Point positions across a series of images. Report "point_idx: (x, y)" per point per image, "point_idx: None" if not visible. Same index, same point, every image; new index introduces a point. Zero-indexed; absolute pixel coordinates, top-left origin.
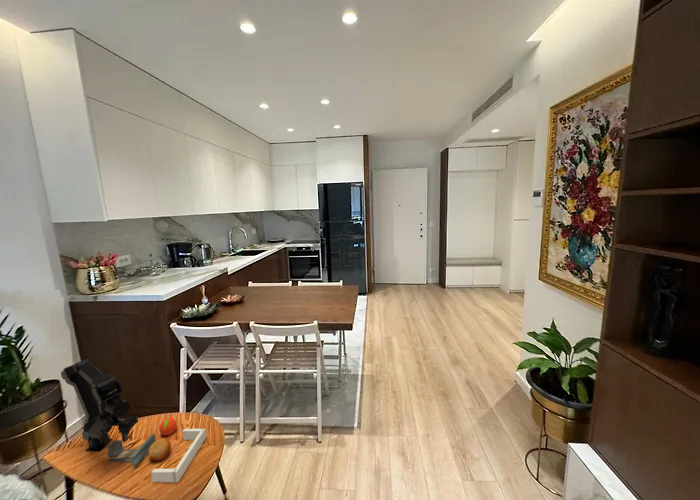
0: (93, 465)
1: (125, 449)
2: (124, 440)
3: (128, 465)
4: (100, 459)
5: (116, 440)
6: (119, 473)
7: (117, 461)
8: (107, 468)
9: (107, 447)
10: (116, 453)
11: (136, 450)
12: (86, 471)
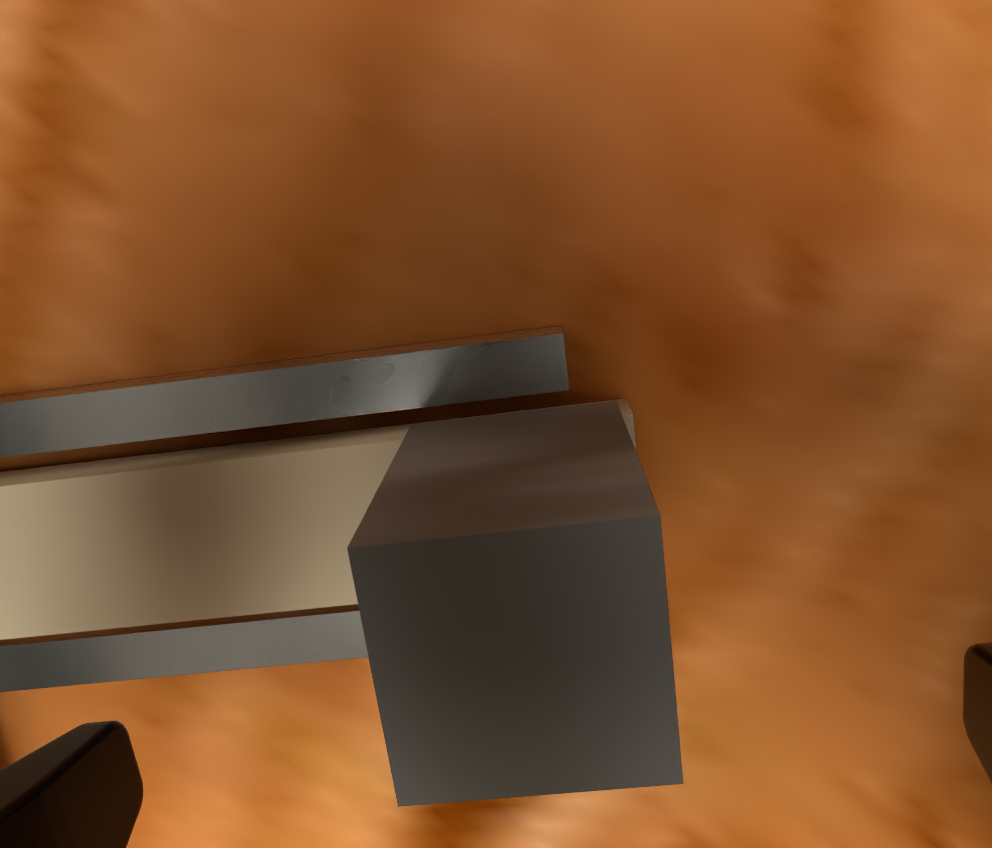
0: (861, 221)
1: None
2: (2, 779)
3: (45, 316)
4: (839, 386)
5: (573, 788)
6: (34, 102)
7: (344, 357)
8: (442, 188)
9: (637, 513)
10: (393, 466)
11: (183, 646)
12: (886, 45)
